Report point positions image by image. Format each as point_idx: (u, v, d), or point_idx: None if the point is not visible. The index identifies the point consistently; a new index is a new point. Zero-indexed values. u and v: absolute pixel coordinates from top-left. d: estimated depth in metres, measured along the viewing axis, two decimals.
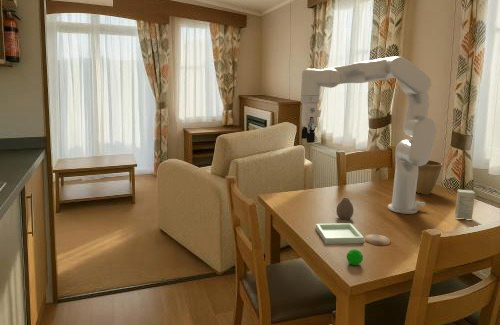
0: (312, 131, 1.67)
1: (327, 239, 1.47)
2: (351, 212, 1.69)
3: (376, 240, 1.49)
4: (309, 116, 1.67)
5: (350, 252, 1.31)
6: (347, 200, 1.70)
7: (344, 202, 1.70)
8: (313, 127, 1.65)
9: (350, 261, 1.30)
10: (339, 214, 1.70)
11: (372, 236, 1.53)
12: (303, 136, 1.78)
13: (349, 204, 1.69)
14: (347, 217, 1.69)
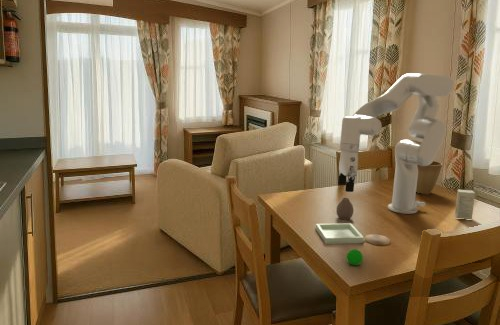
0: (352, 181, 1.62)
1: (327, 239, 1.47)
2: (351, 212, 1.69)
3: (376, 240, 1.49)
4: (349, 165, 1.62)
5: (350, 252, 1.31)
6: (347, 200, 1.70)
7: (344, 202, 1.70)
8: (353, 177, 1.60)
9: (350, 261, 1.30)
10: (339, 214, 1.70)
11: (372, 236, 1.53)
12: (340, 183, 1.74)
13: (349, 204, 1.69)
14: (347, 217, 1.69)
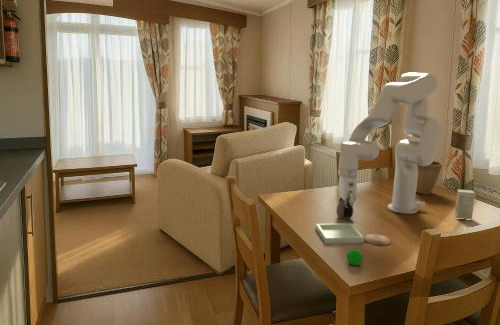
0: (350, 206, 1.66)
1: (327, 239, 1.47)
2: None
3: (376, 240, 1.49)
4: (348, 190, 1.65)
5: (350, 252, 1.31)
6: None
7: (344, 202, 1.69)
8: (351, 204, 1.64)
9: (350, 261, 1.30)
10: (339, 214, 1.70)
11: (372, 236, 1.53)
12: None
13: None
14: (347, 217, 1.69)
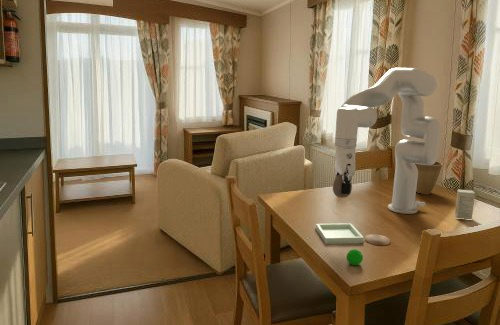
0: (348, 181, 1.44)
1: (327, 239, 1.47)
2: None
3: (376, 240, 1.49)
4: (346, 163, 1.43)
5: (350, 252, 1.31)
6: None
7: None
8: (350, 178, 1.43)
9: (350, 261, 1.30)
10: (335, 191, 1.49)
11: (372, 236, 1.53)
12: None
13: None
14: (345, 194, 1.48)
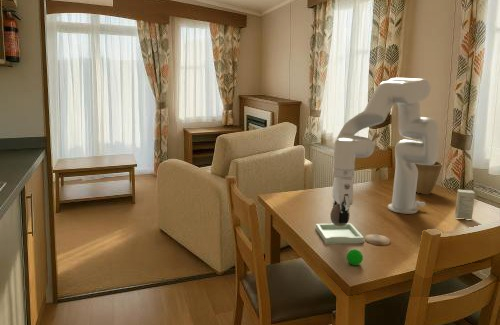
0: (346, 211, 1.47)
1: (327, 239, 1.47)
2: None
3: (376, 240, 1.49)
4: (343, 193, 1.46)
5: (350, 252, 1.31)
6: None
7: (339, 206, 1.50)
8: (347, 208, 1.45)
9: (350, 261, 1.30)
10: (333, 220, 1.51)
11: (372, 236, 1.53)
12: None
13: None
14: (342, 223, 1.50)
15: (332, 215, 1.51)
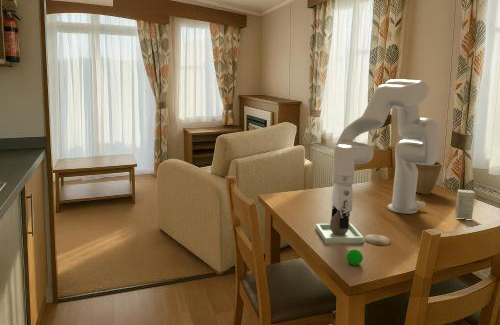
0: (346, 217, 1.46)
1: (327, 239, 1.47)
2: None
3: (376, 240, 1.49)
4: (343, 199, 1.46)
5: (350, 252, 1.31)
6: None
7: (339, 216, 1.51)
8: (348, 213, 1.44)
9: (350, 261, 1.30)
10: (333, 229, 1.52)
11: (372, 236, 1.53)
12: None
13: None
14: (342, 233, 1.51)
15: (332, 224, 1.52)
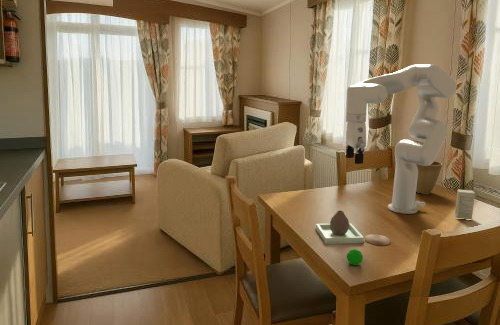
0: (361, 152, 1.56)
1: (327, 239, 1.47)
2: (346, 227, 1.51)
3: (376, 240, 1.49)
4: (357, 136, 1.56)
5: (350, 252, 1.31)
6: (342, 213, 1.52)
7: (339, 216, 1.51)
8: (363, 148, 1.55)
9: (350, 261, 1.30)
10: (333, 229, 1.52)
11: (372, 236, 1.53)
12: (348, 155, 1.68)
13: (344, 218, 1.51)
14: (342, 233, 1.51)
15: (332, 224, 1.52)
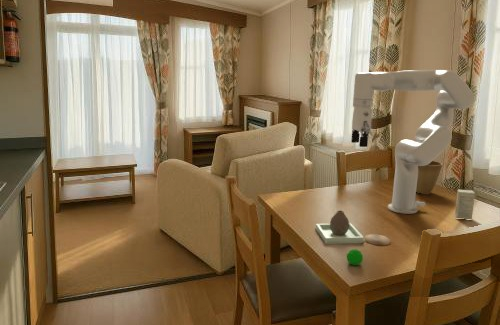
0: (366, 135, 1.65)
1: (327, 239, 1.47)
2: (346, 227, 1.51)
3: (376, 240, 1.49)
4: (363, 120, 1.65)
5: (350, 252, 1.31)
6: (342, 213, 1.52)
7: (339, 216, 1.51)
8: (367, 131, 1.63)
9: (350, 261, 1.30)
10: (333, 229, 1.52)
11: (372, 236, 1.53)
12: (353, 140, 1.76)
13: (344, 218, 1.51)
14: (342, 233, 1.51)
15: (332, 224, 1.52)
